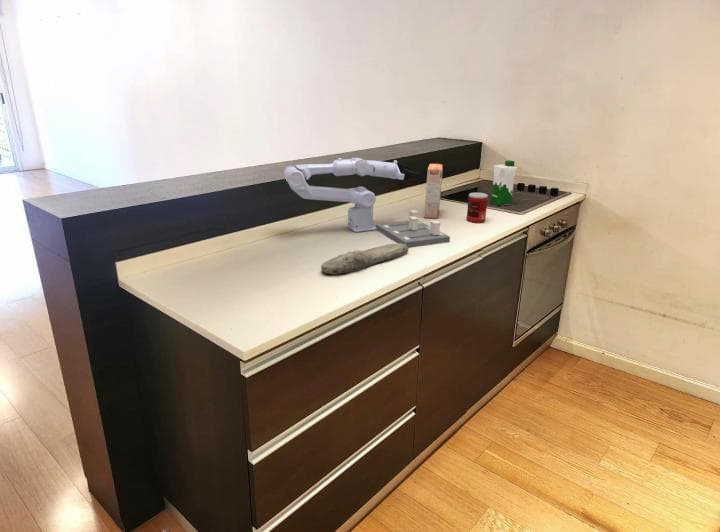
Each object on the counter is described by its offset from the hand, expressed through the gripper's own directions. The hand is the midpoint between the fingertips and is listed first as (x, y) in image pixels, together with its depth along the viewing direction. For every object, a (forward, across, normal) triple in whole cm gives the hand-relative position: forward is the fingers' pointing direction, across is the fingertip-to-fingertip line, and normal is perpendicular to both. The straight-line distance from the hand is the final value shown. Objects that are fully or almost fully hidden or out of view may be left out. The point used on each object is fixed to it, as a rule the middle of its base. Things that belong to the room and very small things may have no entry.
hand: (414, 173), depth 192 cm
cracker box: (+18, +8, +20) cm, 28 cm away
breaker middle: (-3, -16, +17) cm, 24 cm away
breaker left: (+1, -8, +18) cm, 19 cm away
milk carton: (+57, +17, +15) cm, 61 cm away
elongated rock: (-28, -39, +20) cm, 52 cm away
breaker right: (+2, -24, +15) cm, 28 cm away
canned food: (+31, -5, +16) cm, 35 cm away
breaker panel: (-3, -17, +19) cm, 25 cm away
